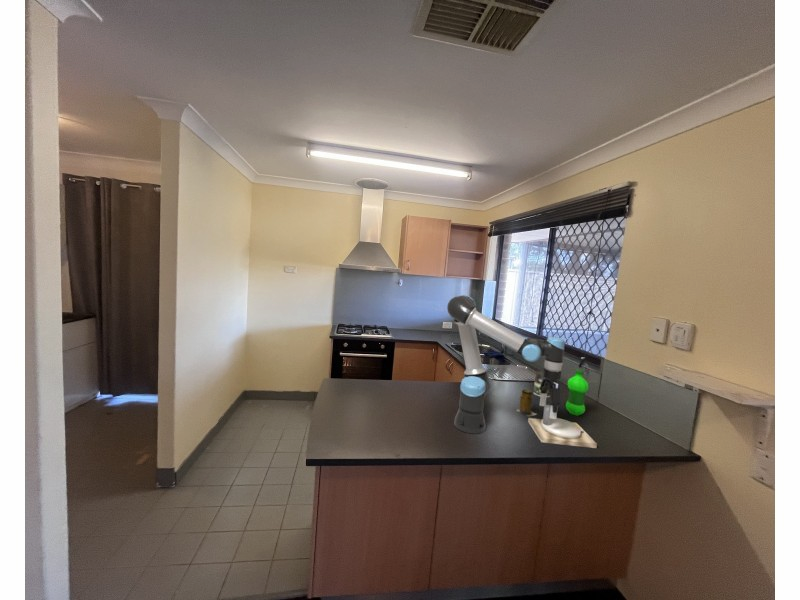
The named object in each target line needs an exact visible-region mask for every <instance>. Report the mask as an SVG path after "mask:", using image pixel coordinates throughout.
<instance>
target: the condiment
mask: <svg viewBox="0 0 800 600" xmlns="http://www.w3.org/2000/svg"><path fill="white" fill-rule="evenodd" d="M532 404H533V391H532V390H530V389H522V391H521V394H520V403H519V409H516V410H515V411H516V412H519V413H520V414H521V415H522V414H523V416H526V417H533V416H536V415H538V414H537V413H536V412H533V411H532V407H533V405H532Z"/></svg>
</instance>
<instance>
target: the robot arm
mask: <svg viewBox="0 0 800 600" xmlns="http://www.w3.org/2000/svg"><path fill="white" fill-rule="evenodd" d="M446 307H447V313H448V314H449V315H450V317H451V318H453V322H454V324H456V325H457V327H458V333H459V337H460V338H459V339H460V344H461V348H462V349H461V350H462V354H463V360H464V364H465V370H464V372H463V375H464V378H462V379H461V380H460V381H461V382H460V390H459V404H458V405H459V406H458V410H457V413H456V414H455V417H454V422H453V425H454V427H455V428H457V430H459V431H461V432H464V433H467V434H482V433H484V432H485V431H486V427H487V425H486V424H487V423H486V420H485V415H484V406H485V405H484V404H485V397H486V396H487V393H488V392H489V390H490V388H491V379H490V377H489V376H488V372H487V369H486V368H484V367H483V363H482V358H481V357H482V356H481V353H480V346H479V341H478V335H477V331H479V332H481V333H483V334H484V335H486V336H488V337H490V338H491V339H493V340H494V341H496V342H498V343H500V344H502V345H504V346H505V347H507V348H509V349H510V350H512V351H514V352H516V353H517V354H519V355H520V356H522V357H523V359H524V360H525V361H527V362H529V363H533V362H537V361H538V360H539V359H540V358H541V356H542V357H543V356H544V357H545V358H544V363H543V364H544V366H543V367H544V369H543V371H544V373H543V375H544V376H543V380H542V383H541V385H540V388H539V389H540V390H541V397H540V396H539V407H544V405H545V404H547V398H548V397H547V394H546V393H548V392H547V391H548V389H549V391H550V393H551V394H550V398H551V404H550V405H551V410H550V418H552V419H556V418H558V417H557V415H558V414H557V413H558V409H559V407H561V405H562V404H561V392H560V387H561V384H560V383H557V381H558V380H561V377H562V367H563V365H564V363H563V361H564V354H565V346H566V345H565V343H566V340H565V339H563V337H562V338H561V337H557V336H547V339H545V340H544V339H537V338H531V337H523V336H522V335H521V334H518V333H517V332H514V331H513V330H511V329H510V328H508V327H505V325H502V324H500V323H499V322H497V321H495V320H493V319H491V318H490V317H488V316H486V315H484V314H483V313H481V312H479V311H478V310H477V307H476V302H475V300H474V299H473V298H472V297H471V296H469V295H465V294H464V295H463V294H462V295H458V296H457V295H456V296H454V297H451V299H449V301H448V303H447V306H446Z"/></svg>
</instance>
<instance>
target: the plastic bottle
mask: <svg viewBox="0 0 800 600" xmlns="http://www.w3.org/2000/svg"><path fill="white" fill-rule="evenodd" d="M584 372H585V371H584V370H582V369H580V368H579V369H578V368H577V369H575V370H574V374H575V375H574V376H572V377H569V378H568V380H567V388H568V389H569V390H568V399H567V401H566V402H565V408H566V411H567V412H568V413H569V414H570V415H573V416H577V417H579V416H580V415H583V414H584V413H585V411H586V406H585V395H586V392H588V391H589V383H588V381H587V380H585V378H584V377H583V375H584Z"/></svg>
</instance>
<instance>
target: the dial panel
mask: <svg viewBox="0 0 800 600" xmlns="http://www.w3.org/2000/svg"><path fill="white" fill-rule="evenodd" d="M542 419H543V418H532V417H528V419H527V423H528V424H529V425H530V427H531V428H532V430H533V431H534V433H535V435H536V436H537V438H538V440H540V442H541V443H545V444H554V445H564V446H565V445H566V446H573V447H584V448H592V449H597V446H598V442H596V441H595V440H594V439H593V438H592V437H591V436H590V435H589V434H588V433H587V432H586V431H585V430H584V429H583V428H582V426H580V425H579V424H578V423H577V422H572V421H571V422H572V423H574V424H575V425H577V426H578V427H579V428H580V429H581V434H580V437H579V438H576V439H567V438H561V437H558V436H555V435H552V434H550V433H548V432H547V431H545V430H544V429H543V428H542V426H541V422H542Z"/></svg>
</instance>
